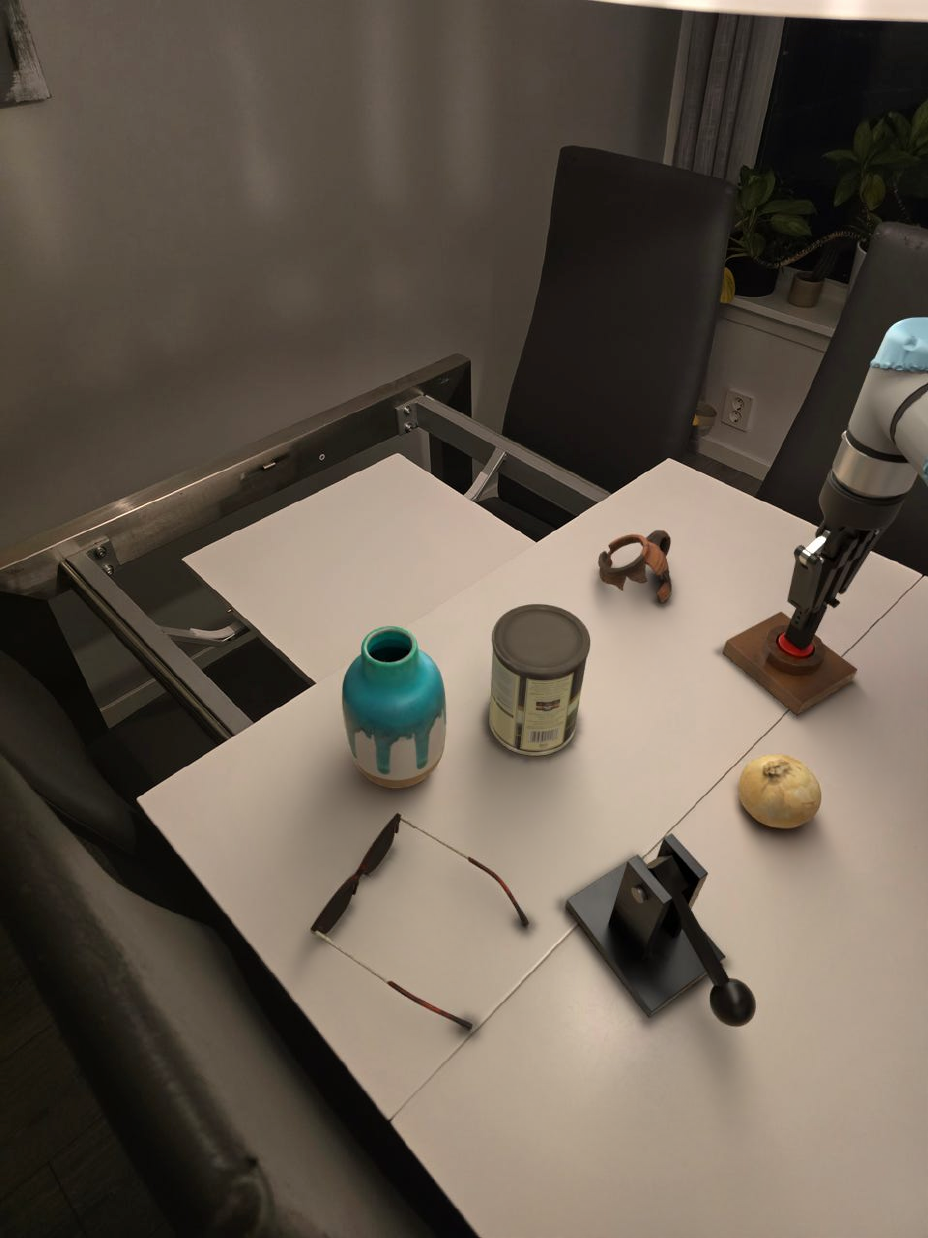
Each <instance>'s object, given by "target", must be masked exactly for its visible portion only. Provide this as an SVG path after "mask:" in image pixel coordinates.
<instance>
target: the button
mask: <svg viewBox="0 0 928 1238" xmlns="http://www.w3.org/2000/svg"><path fill="white" fill-rule="evenodd" d="M785 633H786V632H785ZM785 633H783V634H782V635H781V636H780V638H779V640H778V642H777V646H778V648H779V649H780V650H781V651H782V652H783V653H785V654H786V655H788V656H791V657H793V658H796V659H805V658H809V657H810V655H811V653H812V651H813V643H812V642H811V644H810V646H808V647H807V648H805V649H803V650H800V649H799V648H797V647H796V646H795V645H794V644H792V643H791V642H790V641H789V640H787V639H786V638H785V637H784V635H785Z"/></svg>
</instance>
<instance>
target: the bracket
mask: <svg viewBox="0 0 928 1238" xmlns="http://www.w3.org/2000/svg"><path fill="white" fill-rule="evenodd" d="M671 855H672V856H673V858H674V860H675V862H676V863H677V865H678V867H679V869H680V871H681V872H682V874H683V876H684V878H685V880H686V881H687V883H688V885H689V887H687V888H686V889H684V890H683V891H681V893H682V894H683V896H684V898H685V900H686V902H687V903H688V905H689V907H690V909H691V910H693V908H694V905H695V903H696V901H697V899H698V897H699V894H700V892H701V890H702V888H703V885H704V883H705V881H706V879H707V877H708V876H709V872H708V871H707V870H706V868H705V867H704V866H703V865H702V864H701V863H700V862H699V861H698V860H697V859H696V858H695V856H693V855H692V853H690V851H689V850H688V849H687V848H686V847H685V846H684V845H683V844H682V843H681V841H680V840H679V839H678V838H677V837H676V836H675V835H674V834H673V833H670V834H668V835H667V836H665V837H663V838H662V841H661V844H660V847H659V849H658V852H657V854H656V858H657V857H662V856H671ZM647 864H648V863H647V862H646V861H645V860H643V858H642V857H641V856H640V855H639V854H636V855H634V856H633V857H631V858H630V859H628V860H626V861H625V862H624V863H622V864H621V865H618V866H617V867H616V868H614V869H613V870H611V871H609V872H608V873H606V874H604V875H603V876H602V877H600V878H598V879H597V880H596V881H594V882H592V883H591V884H589V885H588V886H586V887H584V888H583V889H582V890H580V891H579V892H576V893H575V894H574V895H572V896H570V897H569V898H567V899H566V902H565V907H566V909H567V910H568V911H569V913H570V914H571V915H572V917H573V918H574V919H575V921H576V922H577V924H578V925H579V926H580V927H581V929H582V930H583V931H584V933H585V934H586V935H587V937H588V938H589V939H590V941H591V942H592V943H593V945H594V946H595V947H596V949H597V950H598V951H599V953H600V954H601V955H602V957H603V958H604V959H605V961H606V962H607V964H608V965H609V966H610V968H611V969H612V970H613V972H614V973H615V974H616V975H617V977H618V978H619V979H620V980H621V982H622V983H623V985H624V986H625V987H626V989H627V990H628V991H629V993H630V994H631V995H632V997H633V998H634V999H635V1000H636V1002H637V1004H638V1005H639V1006H640V1007H641V1009H642V1010H643V1012H644V1013H645V1014H646V1015H647V1017H648V1018H651V1017H652V1016H654V1015H655V1014H656V1013H657V1012H658V1011H661V1009H663V1008H664V1007H666V1005H668V1004H669V1003H671V1002H672V1001H673V1000H674V999H676V998H677V997H679V996H680V995H681V994H683V993H684V992H685V991H687V990H688V989H689V988H690V987H692V986H693V985H694V984H696V983H697V982H698V981H700V980H701V979H703V978H704V977H705V976H706V975H708V974H707V972H706V970H705V969H704V967H703V965H702V963H701V961H700V960H699V958H698V956H697V954H696V952H695V950H694V949H693V947H692V945H691V943H690V941H689V940H688V938H687V936H686V934H685V932H684V930H683V929H682V927H681V925H680V923H679V921H678V920H677V918H676V916H675V914H674V912H673V910H672V909H671V907H670V903H671V900H672V897H671V896H670V894H669V893H668V892H667V891H666V890H665V889H664V887H663V886H662V885H661V884H660V883H659V882H658V880H657V879H656V878H655V877H654V876H653V875H652V873H651V872H650V871H649V870H648V869H647V868H646V866H645V865H647ZM701 929H702V930H703V932H704V934H705V936H706V938H707V939H708V941H709V943H710V945H711V947H712V948H713V950H714V952H715V954H716V956H717V957H718V959H719V961H720V963H721V964H723V962H724V961H725V959H726V955H725V954H724V952H722V951H721V949H720V948H719V947H718V946H717V944H716V943H715V942H714V941H713V940H712V938H711V937H710V936H709V935H708V933H706V932H705V930H704V929H703V928H702V927H701Z"/></svg>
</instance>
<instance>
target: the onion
mask: <svg viewBox="0 0 928 1238" xmlns="http://www.w3.org/2000/svg"><path fill="white" fill-rule="evenodd" d="M738 794H739V799H740V801H741V804H742V807H744V809H745V810H746V811H747V812H748V813H749V814H750V815H751V817H752V818H753V819H754V820H756V821H757V822H759V823H761V824H762V825H765V826H767V827H770V828H778V829H794V828H797V827H799V826H802V825H805V824H806V823H808V822H809V821H811V820H812V819H814V817H815V816H816V815H817V813H818V811H819V809H820V807H821V804H822V790H821V786H820V783H819V781H818V779H817V778H816V776H815V774H814V773H813V772H812V770H811V769H810V768H809V767H808V766H807V765H806V764H805V763H803V762H801V761H800V760H799V759H796V758H794V757H791V756H788V755H786V754H766V755H761V756H759V757H757V758H755V759H754V760H752V761H751V762H750V763H748V764H747V765H746V766H745V767H744V768H743V769H742V770H741V774H740V777H739V781H738Z"/></svg>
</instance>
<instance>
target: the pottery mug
mask: <svg viewBox="0 0 928 1238" xmlns="http://www.w3.org/2000/svg"><path fill="white" fill-rule="evenodd" d="M632 544H640V546H641V547H642V550H641V552H640V554H639V555H638V556H637V557H636V558H635V559H634V560H633V561H631V562H630V563H628V564H626V565H623V566H620V567H612V566H613V560H612V555H613V554H614V553H615V552H616V551H619V550H620V549H621V548H624V547H626V546H629V545H632ZM671 544H672V539H671V536H670V535H669V533H668V532H667V531H665V530H662V529H656V530H653V531H652V532H651V533H649V535H647V536H646V537H645V536H643V535H641V534H637V533H634V534H633V533H631V534H626V535H623V536H620V537H618V538H615V539H614V540H612V541H611V542H609V544H607V546H608V549H609V551H608V552H607V551H606V550H603V551H602V552H600V553H599V556H598V560H597V563H598V567H599V570H598V571H599V572H598V573H599V578H600V580H601V582H603V583H605V584H607V585H612V586H614V587H616V588H617V589H618V590H620V591H621V592H623V591H624V586H625V582H626V580H627V579H629V580H630V582H635V583H638V584H641V585H644V584H646V583H648V578H647V576H646V574H647V571H646V568H647V566H648V567H650V569H651V570H652V571H653V573H654V574H655V575H657V576H661V578H662V580H664V583H663V584H662V586H661V587H660V588H659V590H657V592H656V595H657V596H658V597H659V598H658V599H659V600H658V601H659V603H660V604H663V603H664V602H665V601H667V600H668V598H669V597H670V595H671V593H672V589H673V584H672V580H671V579H672V578H671V575H670V569H669V568H670V567H669V562H668V558H667V556H668V554H669V551H670V549H671Z"/></svg>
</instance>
